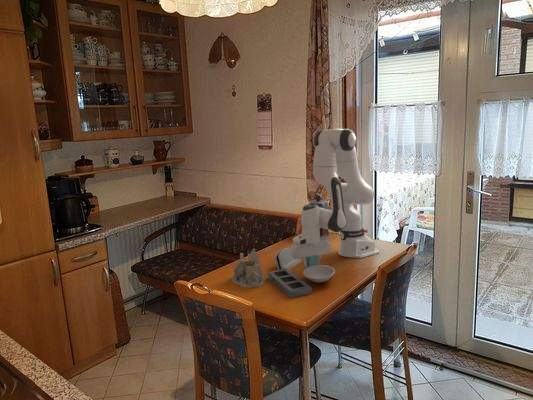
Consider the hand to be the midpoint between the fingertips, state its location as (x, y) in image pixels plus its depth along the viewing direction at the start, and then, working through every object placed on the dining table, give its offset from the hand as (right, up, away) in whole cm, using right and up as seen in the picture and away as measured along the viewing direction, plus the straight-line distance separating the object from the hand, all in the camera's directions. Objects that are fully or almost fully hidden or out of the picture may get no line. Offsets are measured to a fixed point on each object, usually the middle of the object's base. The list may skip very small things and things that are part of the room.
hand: (311, 264), depth 205 cm
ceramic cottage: (-31, -7, -9) cm, 33 cm away
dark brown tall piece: (+11, +8, +56) cm, 58 cm away
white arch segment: (-11, -2, +10) cm, 15 cm away
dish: (+2, -6, -14) cm, 15 cm away
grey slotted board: (-12, -7, -17) cm, 22 cm away
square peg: (0, -3, +1) cm, 3 cm away
